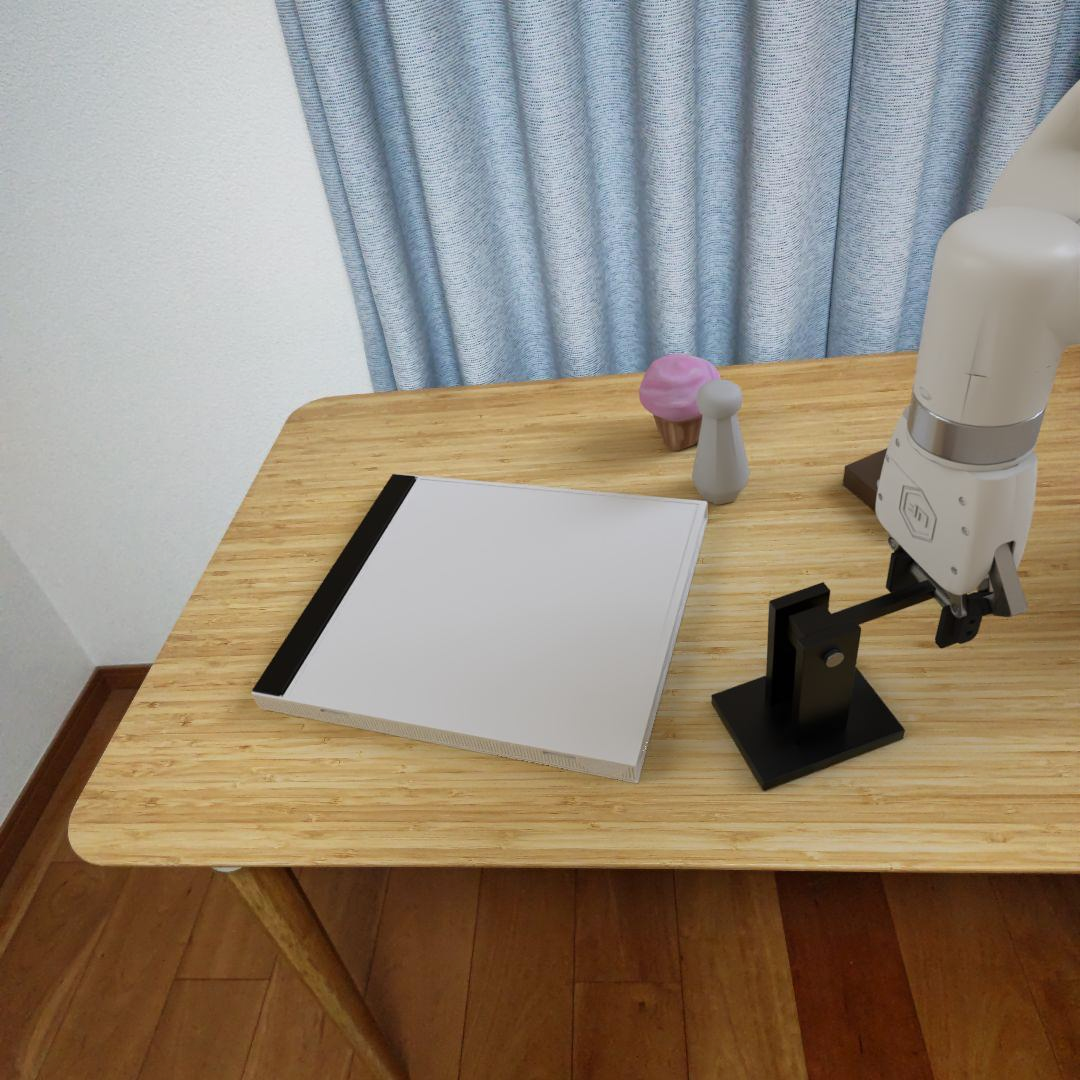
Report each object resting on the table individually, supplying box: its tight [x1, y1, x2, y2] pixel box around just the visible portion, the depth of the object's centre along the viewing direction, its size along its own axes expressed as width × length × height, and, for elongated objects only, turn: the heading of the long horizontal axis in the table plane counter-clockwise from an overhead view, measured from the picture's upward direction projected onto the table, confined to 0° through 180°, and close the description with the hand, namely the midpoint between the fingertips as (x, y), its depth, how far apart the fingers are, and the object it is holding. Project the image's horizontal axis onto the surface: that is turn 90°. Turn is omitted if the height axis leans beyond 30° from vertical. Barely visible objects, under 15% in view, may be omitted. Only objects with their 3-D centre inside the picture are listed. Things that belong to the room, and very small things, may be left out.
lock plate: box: [842, 447, 888, 513], centre depth 89 cm, size 13×9×3 cm
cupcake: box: [638, 352, 722, 451], centre depth 98 cm, size 9×9×10 cm
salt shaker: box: [691, 378, 751, 506], centre depth 89 cm, size 6×6×13 cm
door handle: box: [787, 561, 950, 650], centre depth 65 cm, size 12×5×2 cm, turn 108°
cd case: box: [250, 472, 709, 784], centre depth 85 cm, size 35×2×31 cm
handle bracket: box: [710, 581, 906, 792], centre depth 68 cm, size 12×9×13 cm
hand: (929, 610), depth 68 cm, fingers open, 5 cm apart
